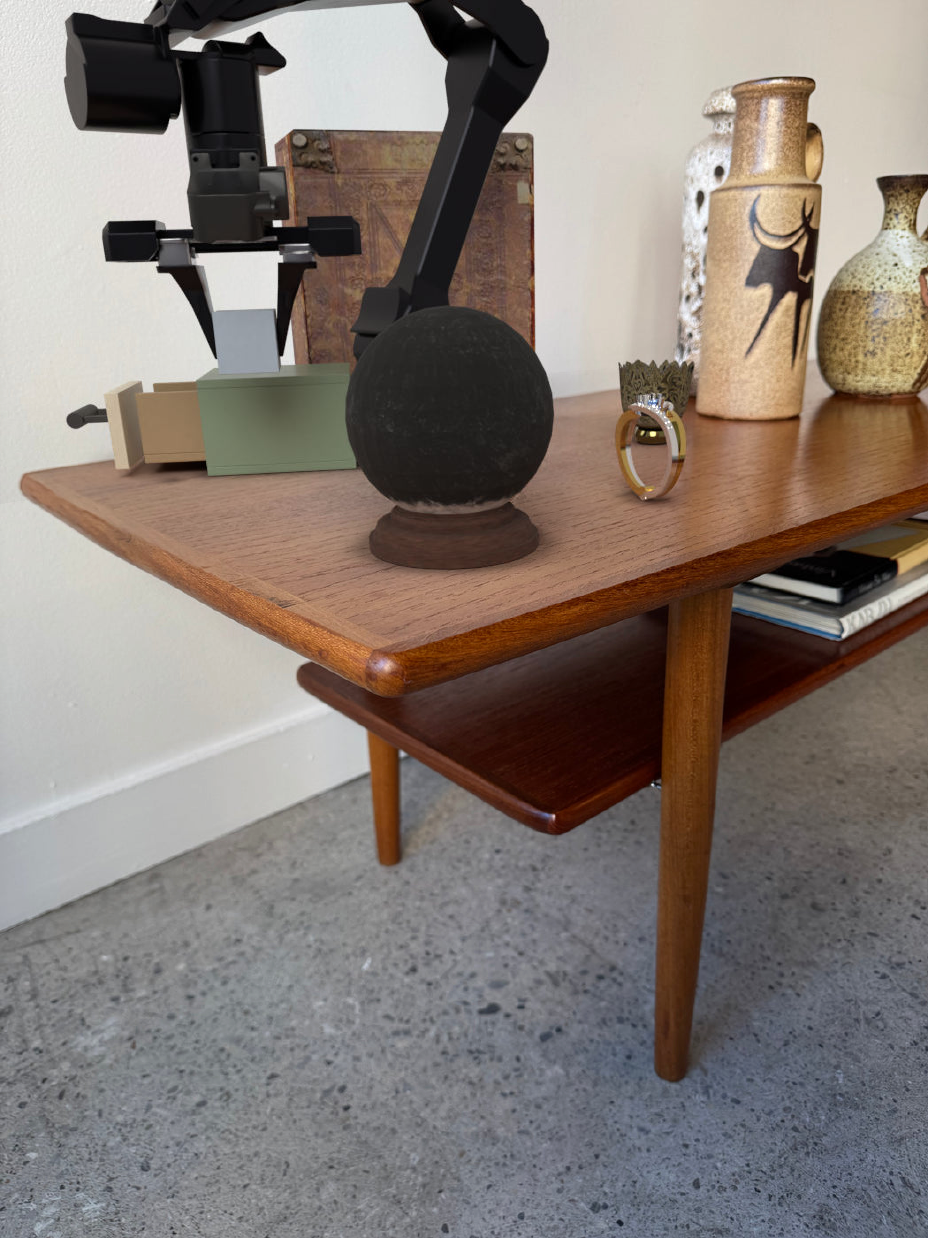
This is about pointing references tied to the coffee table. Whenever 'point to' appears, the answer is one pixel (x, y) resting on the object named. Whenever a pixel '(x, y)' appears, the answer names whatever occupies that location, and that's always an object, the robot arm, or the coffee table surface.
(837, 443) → the coffee table surface
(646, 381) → the cup
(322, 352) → the book
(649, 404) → the ring
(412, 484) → the black ball on stand
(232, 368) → the block
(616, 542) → the coffee table surface
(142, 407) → the drawer
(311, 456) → the cabinet
